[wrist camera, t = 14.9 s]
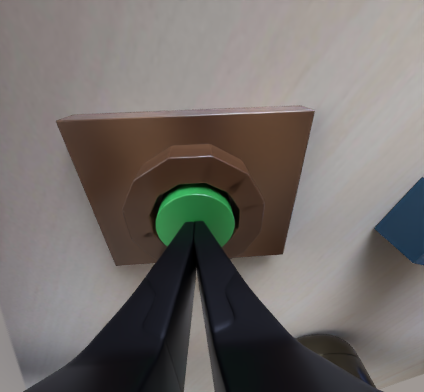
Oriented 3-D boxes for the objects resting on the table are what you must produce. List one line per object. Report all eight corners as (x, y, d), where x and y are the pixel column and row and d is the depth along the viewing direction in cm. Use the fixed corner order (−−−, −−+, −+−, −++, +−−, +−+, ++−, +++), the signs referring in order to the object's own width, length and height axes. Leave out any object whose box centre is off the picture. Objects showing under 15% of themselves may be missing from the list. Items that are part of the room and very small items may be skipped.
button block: (122, 250, 14) (106, 288, 12) (72, 114, 10) (27, 130, 7) (275, 239, 15) (292, 275, 12) (301, 105, 10) (337, 117, 7)
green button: (166, 234, 12) (162, 257, 10) (155, 177, 10) (148, 196, 8) (229, 230, 12) (233, 253, 10) (230, 173, 10) (236, 191, 8)
